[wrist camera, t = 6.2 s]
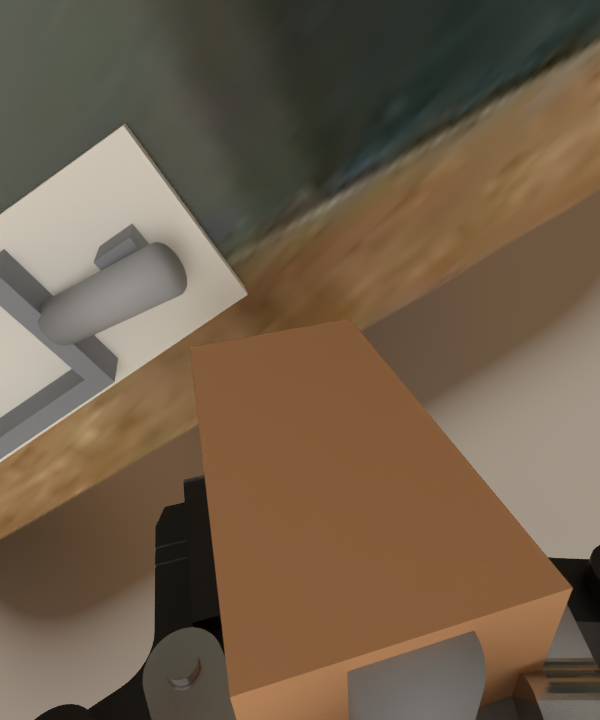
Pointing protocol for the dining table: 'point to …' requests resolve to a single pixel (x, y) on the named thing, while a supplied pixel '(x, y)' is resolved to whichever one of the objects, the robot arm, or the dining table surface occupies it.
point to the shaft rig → (97, 284)
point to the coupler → (358, 542)
